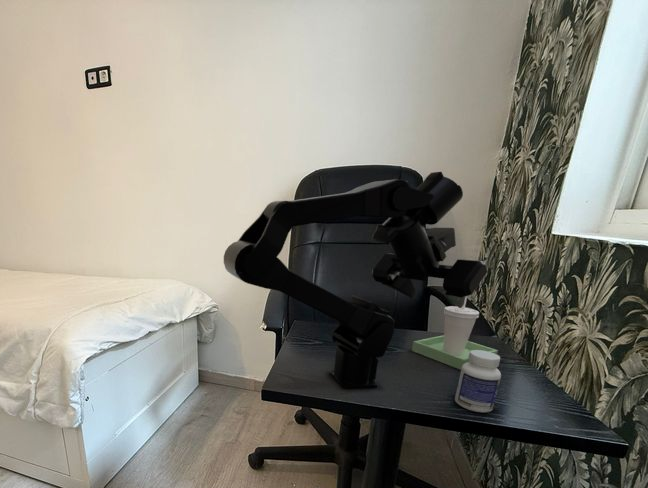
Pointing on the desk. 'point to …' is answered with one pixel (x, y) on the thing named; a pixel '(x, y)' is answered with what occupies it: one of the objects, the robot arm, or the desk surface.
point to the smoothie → (458, 328)
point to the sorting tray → (435, 351)
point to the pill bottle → (479, 382)
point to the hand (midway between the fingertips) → (436, 301)
